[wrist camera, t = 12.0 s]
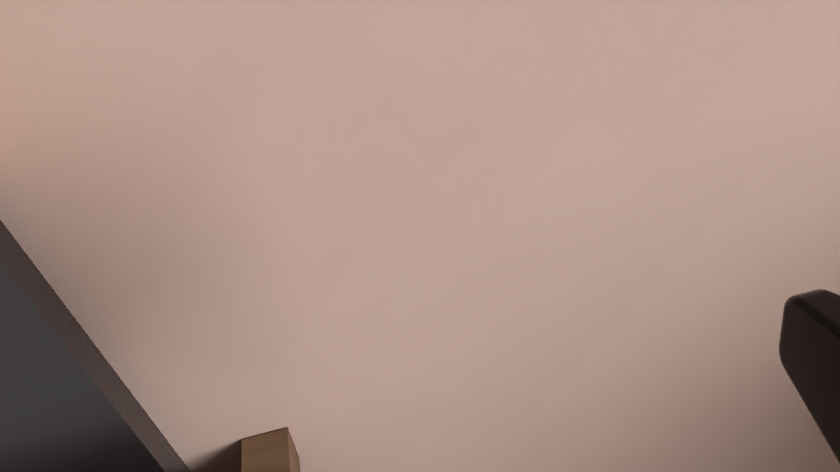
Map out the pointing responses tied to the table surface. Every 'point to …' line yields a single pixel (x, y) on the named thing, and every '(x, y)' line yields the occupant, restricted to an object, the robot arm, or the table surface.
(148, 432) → the orange grey l-shaped block
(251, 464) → the small wooden bench
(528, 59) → the table surface
